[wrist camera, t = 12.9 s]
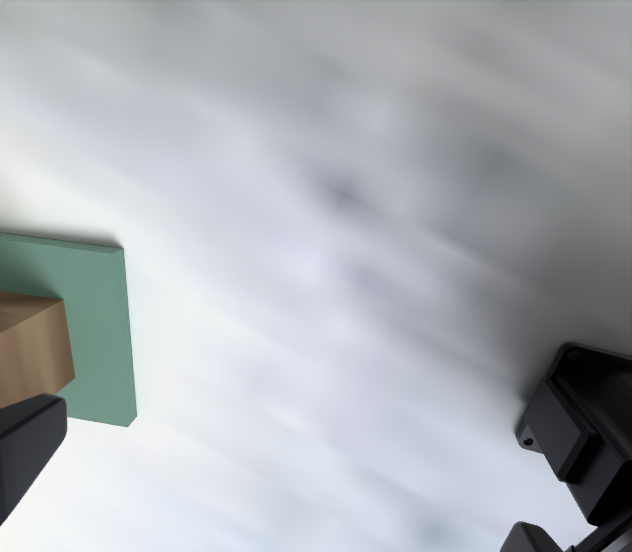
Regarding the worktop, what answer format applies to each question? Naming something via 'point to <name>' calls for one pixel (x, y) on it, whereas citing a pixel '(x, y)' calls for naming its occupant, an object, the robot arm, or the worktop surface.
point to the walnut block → (33, 347)
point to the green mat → (81, 318)
